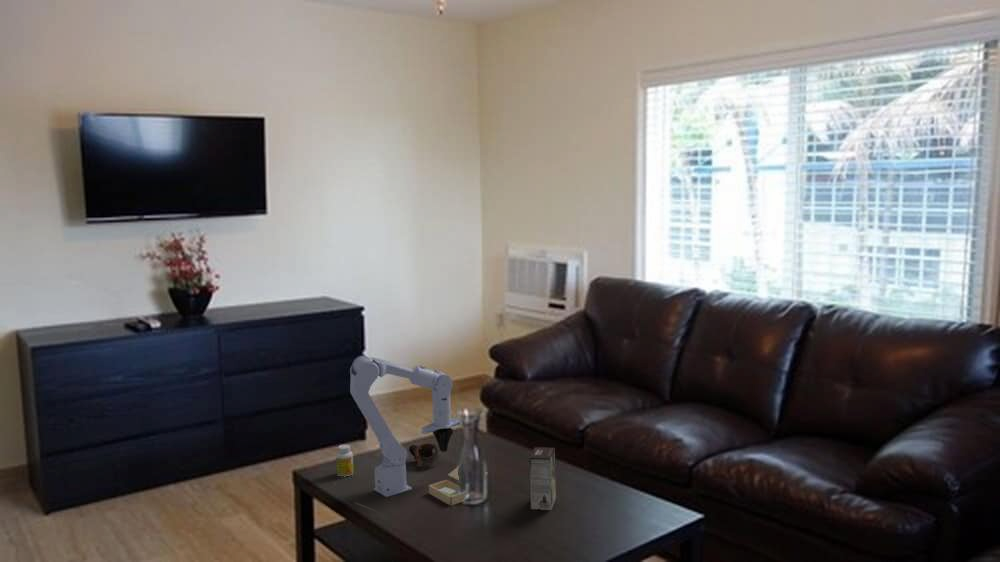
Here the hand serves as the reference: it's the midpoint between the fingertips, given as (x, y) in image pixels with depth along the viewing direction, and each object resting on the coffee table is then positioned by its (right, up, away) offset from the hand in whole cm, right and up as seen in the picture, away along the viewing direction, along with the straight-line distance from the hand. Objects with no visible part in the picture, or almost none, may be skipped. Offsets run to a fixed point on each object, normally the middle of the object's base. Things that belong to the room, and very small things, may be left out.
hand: (443, 450), depth 254 cm
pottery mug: (-8, -8, +17) cm, 20 cm away
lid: (+8, -5, -9) cm, 13 cm away
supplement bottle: (-33, -10, +8) cm, 36 cm away
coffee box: (+31, -12, -19) cm, 38 cm away
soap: (+2, -11, -13) cm, 17 cm away
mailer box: (+3, -12, -13) cm, 17 cm away
